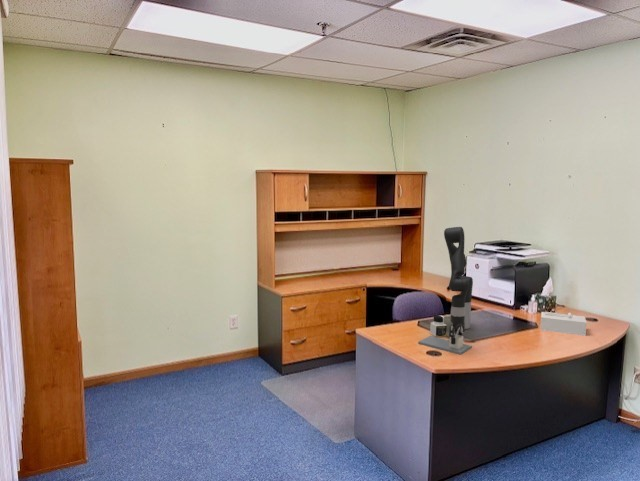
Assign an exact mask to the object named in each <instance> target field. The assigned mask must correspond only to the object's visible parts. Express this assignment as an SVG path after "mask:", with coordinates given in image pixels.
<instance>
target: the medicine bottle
mask: <svg viewBox="0 0 640 481" xmlns="http://www.w3.org/2000/svg"><path fill="white" fill-rule="evenodd" d="M444 321H445V317H444V316H443V315H440V314H436V315H434V316H433V321H432V322H431V321H430V328H429V329H430V330H429V331H430V333H429V334H431V336H433V337H437V338H441V337H447V326H448V325H447V324H446V323H445V322H444Z"/></svg>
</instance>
